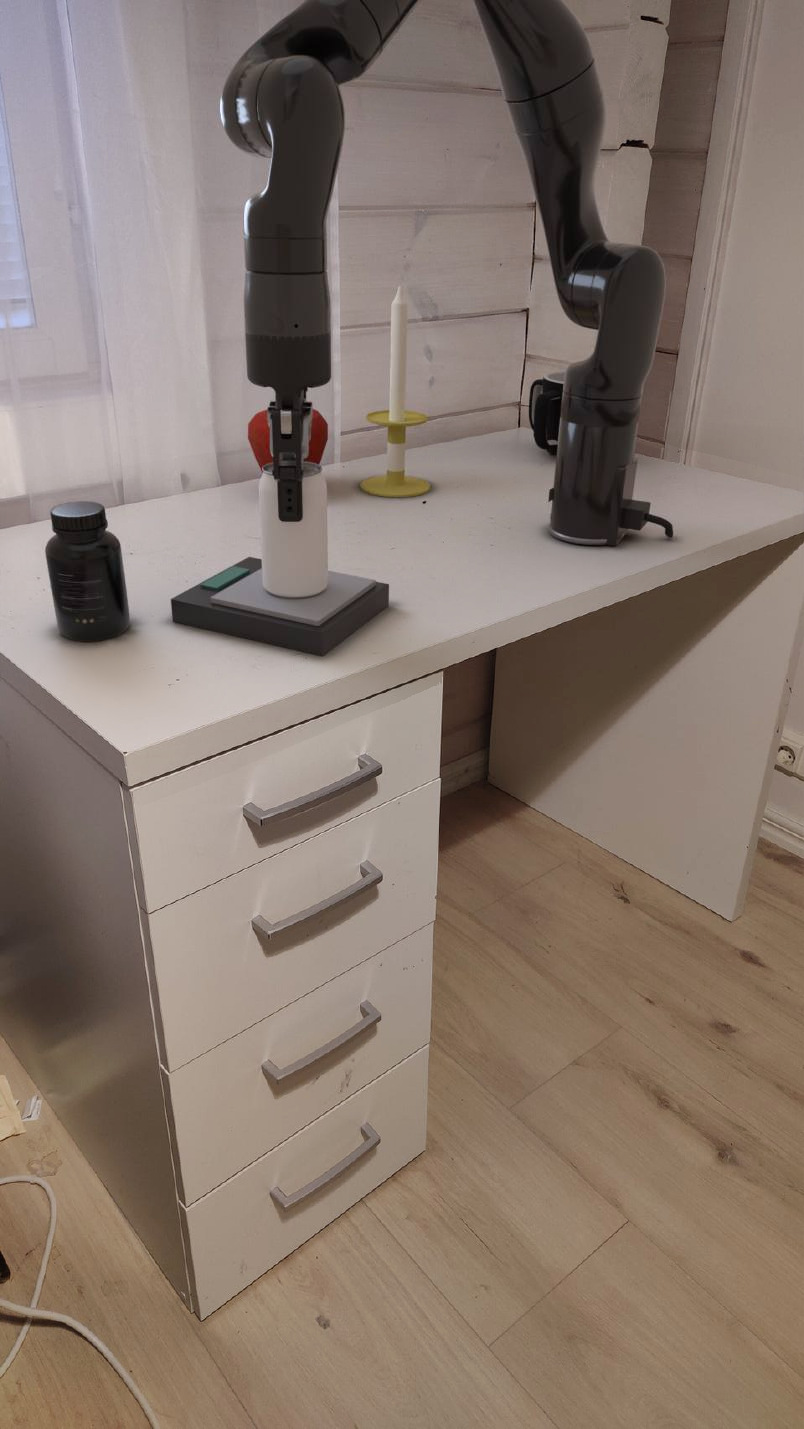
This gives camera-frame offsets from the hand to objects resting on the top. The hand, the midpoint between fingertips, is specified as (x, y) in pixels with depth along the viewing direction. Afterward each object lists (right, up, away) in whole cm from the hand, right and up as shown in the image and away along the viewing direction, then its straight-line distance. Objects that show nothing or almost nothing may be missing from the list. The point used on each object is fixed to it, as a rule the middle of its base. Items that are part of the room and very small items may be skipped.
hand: (293, 507), depth 96 cm
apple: (-5, +11, +44) cm, 46 cm away
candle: (+9, +12, +47) cm, 50 cm away
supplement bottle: (-19, -12, +2) cm, 23 cm away
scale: (-2, -10, +6) cm, 11 cm away
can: (0, -7, +4) cm, 8 cm away
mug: (+38, +22, +66) cm, 80 cm away
